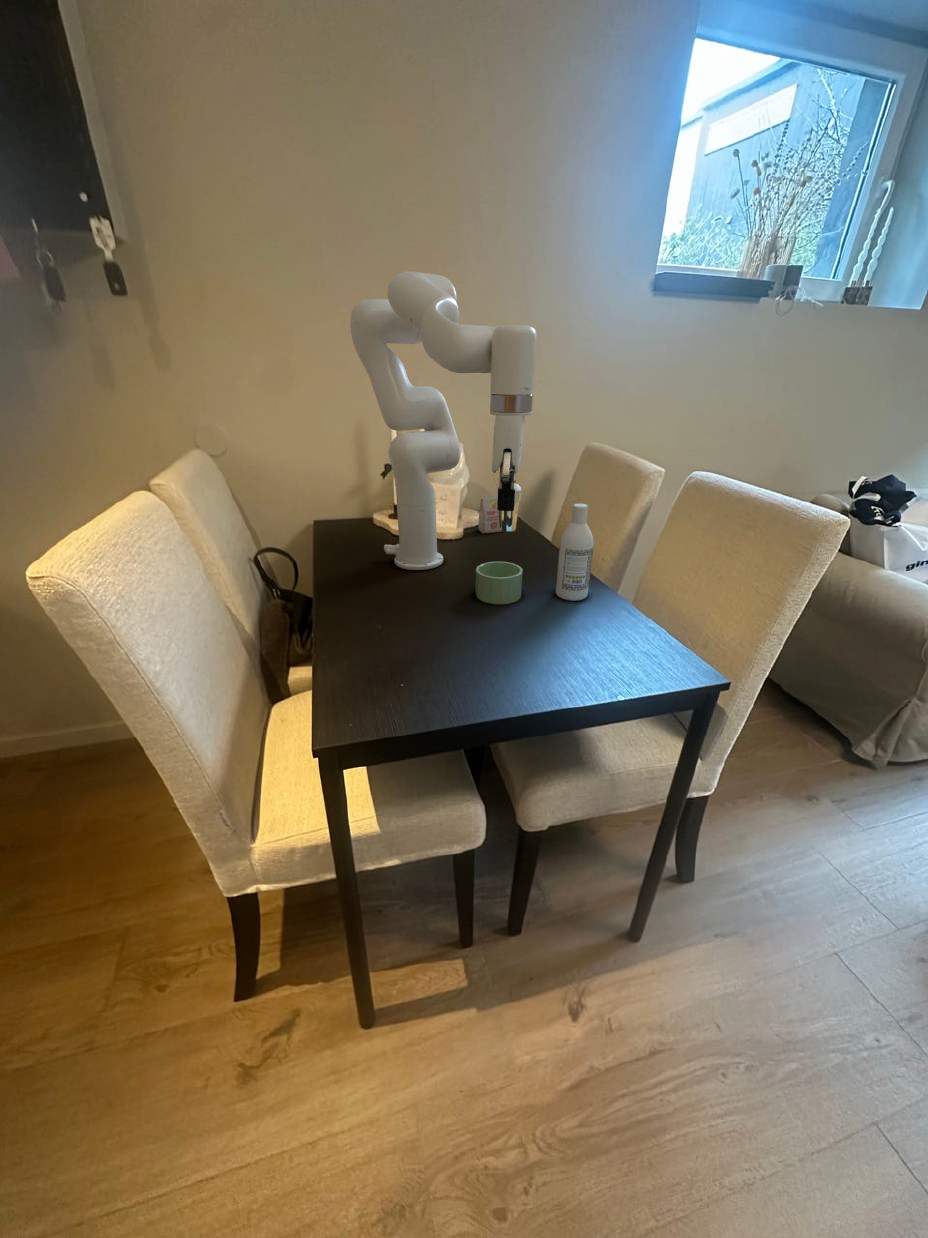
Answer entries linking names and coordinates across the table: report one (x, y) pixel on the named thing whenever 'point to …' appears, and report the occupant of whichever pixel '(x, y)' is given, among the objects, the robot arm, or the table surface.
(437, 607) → the table surface
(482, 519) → the white and pink carton
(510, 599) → the cup
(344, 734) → the table surface
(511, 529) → the milkshake
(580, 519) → the bath foam
